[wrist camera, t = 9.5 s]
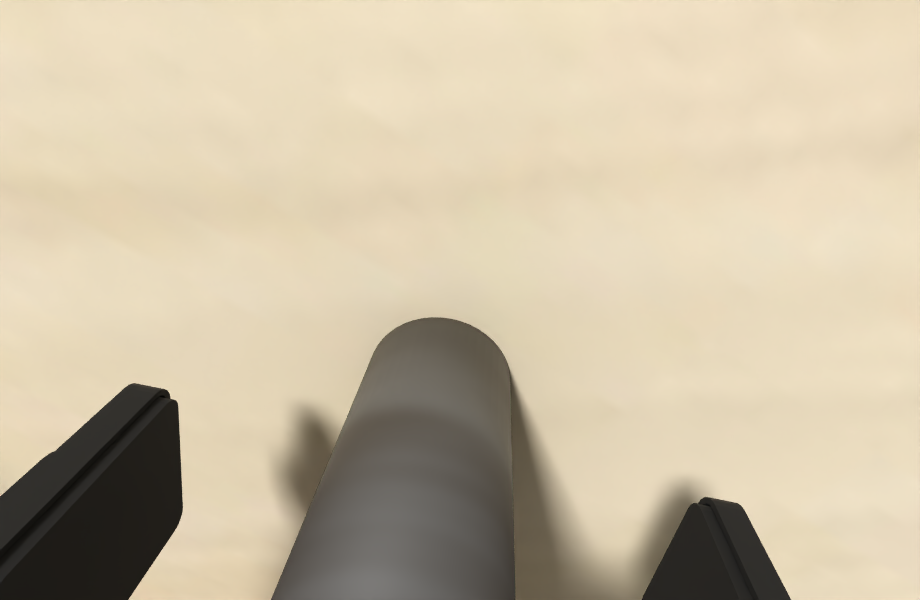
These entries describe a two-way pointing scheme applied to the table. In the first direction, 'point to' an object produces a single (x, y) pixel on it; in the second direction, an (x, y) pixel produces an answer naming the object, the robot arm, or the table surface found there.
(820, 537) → the table surface
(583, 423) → the table surface
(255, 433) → the table surface
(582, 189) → the table surface
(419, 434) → the tether block
